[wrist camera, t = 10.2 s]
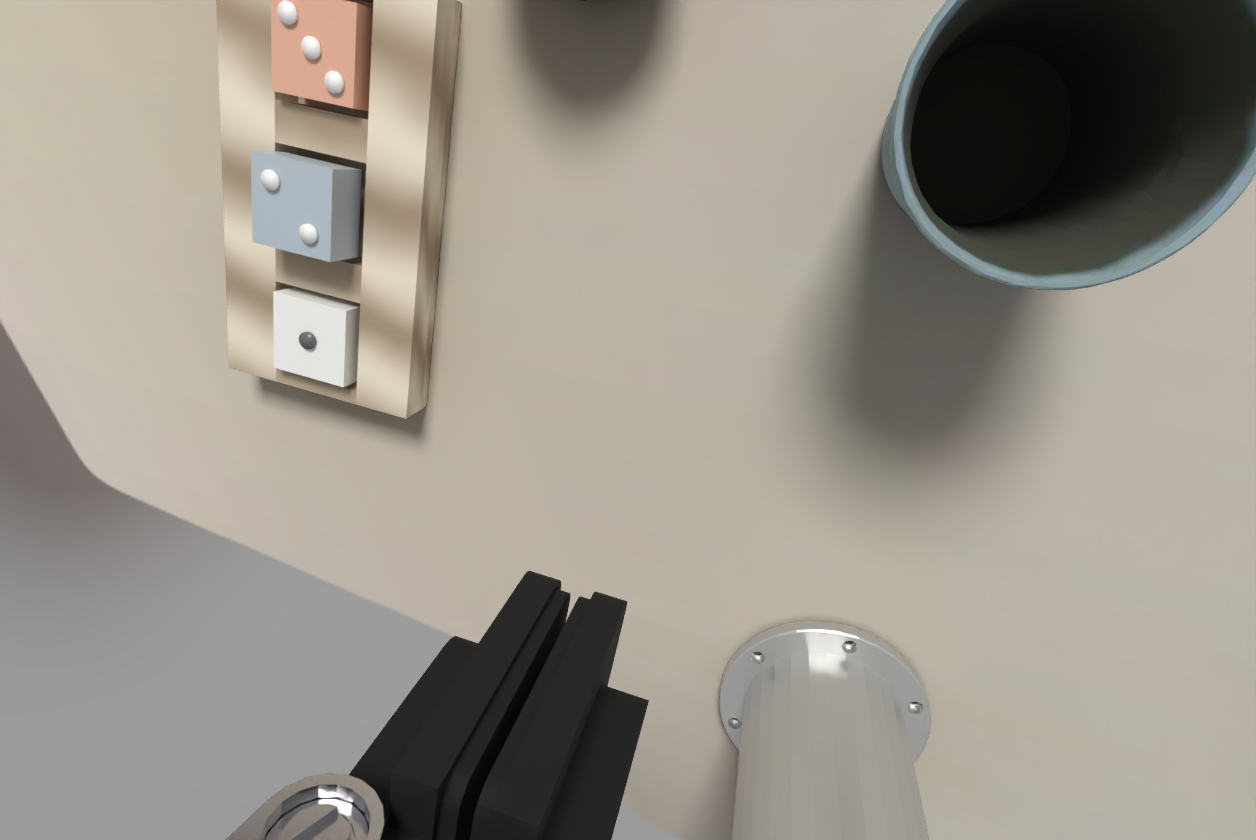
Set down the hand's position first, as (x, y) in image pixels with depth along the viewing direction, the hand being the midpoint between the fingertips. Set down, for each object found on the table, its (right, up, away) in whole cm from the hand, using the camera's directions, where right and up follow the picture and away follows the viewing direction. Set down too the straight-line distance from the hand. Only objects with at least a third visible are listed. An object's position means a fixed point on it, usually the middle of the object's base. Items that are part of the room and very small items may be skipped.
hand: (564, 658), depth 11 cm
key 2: (-16, +16, +25) cm, 34 cm away
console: (-15, +16, +27) cm, 35 cm away
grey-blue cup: (+17, +17, +20) cm, 31 cm away
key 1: (-17, +9, +30) cm, 35 cm away
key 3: (-14, +23, +24) cm, 36 cm away
